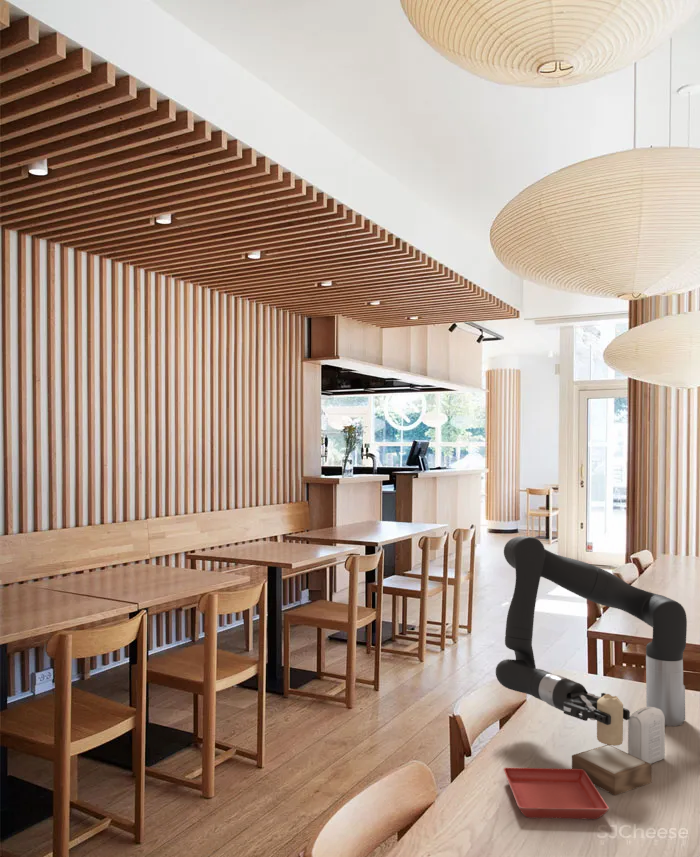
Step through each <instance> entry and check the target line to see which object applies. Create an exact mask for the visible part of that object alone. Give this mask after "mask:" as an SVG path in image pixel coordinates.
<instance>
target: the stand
mask: <svg viewBox="0 0 700 857" xmlns="http://www.w3.org/2000/svg"><path fill="white" fill-rule="evenodd" d="M652 767H653V763H651V764H650V763H648V762H645V761H643V760H641V759H639V758H637V757H635V756H632V755H630V754H628V753H627V752H625V751H623V750H621V749H619V748H617V747H615V746H613V745H607V744H604V745H601V746H598V747H595V748H593V749H588V750H585V751H582V752H579V753H578V752H577V753H575V754H572V755H571V769H583V770H584V771H585V772H586V773H587V775H588V776H589V778H590V779H591V781H592V782H593V784H594V786H595V787H598V788H599V789H601V790H603V791H605V792H606V793H609V794H611V795H613V796H618V795H620V794H623V793H627V792H629V791H631V790H634V789H637V788H641V787H643V786H646V785H649V784H651V783H653V779H652V778H653V771H652V770H653V769H652Z"/></svg>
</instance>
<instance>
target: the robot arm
mask: <svg viewBox="0 0 700 857" xmlns="http://www.w3.org/2000/svg"><path fill="white" fill-rule="evenodd" d="M503 547H504V548H503V556H504V559H505V561H506V562H507V564H508V565H509V566H510V567H512V568H514V569H515V582H514V583H515V585H514V590H513V594H512V599H511V601H510V604H509V608H508V610H507V611H508V612H507V617H506V621H505V622H506V624H505V634H504V635H505V637H504V645H505V647H506V648H507V649H508V650H511V651H513V652H514V654H515V655H514V656H515V659H509V658H508V659H507V658H506V659H503V660H501V661H500V662H498V664H497V665H496V667H495V677H496V680H497V681H498V682H499V683H500V685H501V686H502V687H504V688H507V689H508V690H511V691H515V692H518V693H522V694H526V695H529V696H531V697H534V698H536V699H537V700H540V701H542V702H543V703H546V704H547V705H549V706H551V707H553V708H555V709H557V710H560V711H561V712H563V714H564V715H567V716H570V717H572V718H575V719H579V720H582V721H584V722H586V721H588V719H589V720H591V721H596V722H597V721H599V722H601V723H604V724H606V725H610V724H611V716H610V715H609V714H607V713H605V712H602V711H600V710H598V709H597V701H598V699H600V698H601V697H603V696H604V695H605V694H606V692H602V693H600V694H601V696H598V695H596V694H593V693H589V692H588V691H587V689H586V687H585V686H584V685H583V684H582V683H579V682H577V681H575V680H571V679H570V678H567V677H564V676H561V675H559V674H554V673H551V672H549V671H548V670H547V671H546V670H544V669H541V668H536V667H537V666H536V662H535V661H536V660H535V656H534V649H533V645H532V644H533V634H534V632H533V631H534V620H535V610H536V605H537V604H536V602H537V596H538V593H539V592H538V590H539V585H540V582H541V578H544V579H547V580H549V581H550V582H553V583H554V584H555V585H557V586H560V587H561V588H563V589H565V590H567V591H568V592H571V593H572V594H575V595H577V596H579V597H581V598H582V599H583V598H584V599H586V600H588V601H590V602H593V603H595V604H598V605H601V606H605V607H608V608H612V609H613V608H614V609H617V610H620V611H623V612H625V613H628V614H629V615H631V616H634V618H637V619H638V620H640V621H642V622H643V623H645V624H647V625H648V626H650V627H651V628H652V639H651V640H652V641H650V642H648V643H647V644H646V645H645V669H646V670H645V672H646V673H645V675H646V678H645V679H646V681H645V682H646V684H645V685H646V688H645V692H646V698H645V700H646V704H645V705H646V706H645V707H655V708H658V709H660V710H661V711H662V712H663V714H664V717H665V727H667V726H668V727H675V726H677V727H678V726H680V725H683V724H684V721H686V685H684V658H683V657H684V651H685V650H686V646H687V631H688V630H687V628H688V625H687V624H688V620H687V613H686V610H685V608H684V607H683V605H682V604H681V603H680V602H678V601H676V600H674V599H671V598H669V597H667V596H666V595H665V596H664V595H662V594H658V593H654V592H652V591H648V590H644V589H640V588H638V587H636V586H633V585H631V584H629V583H627V582H626V581H625V580H623V579H622V578H620V577H618V576H616V575H615V574H613V573H611V572H609V571H608V570H605V569H603V568H600V567H598V566H596V565H595V564H594V565H593V564H591V563H587V562H584V561H582V560H579V559H576V558H575V559H574V558H571V557H566V556H563V555H559V554H556V553H554V552H552V551H549V550H548V549H545V546H544V544H543V542H542V541H541V540H539V538H536V537H533V536H528V535H527V536H521V535H520V536H516V537H512V538H511V539H510V540H508V541H507V542H506V543H505V545H504V546H503ZM630 713H631V712H630V710H629V709H627V708H625V707H623V720H625V721H628V720H629V719H630V716H631V714H630Z"/></svg>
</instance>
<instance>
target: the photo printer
mask: <svg viewBox="0 0 700 857" xmlns="http://www.w3.org/2000/svg"><path fill="white" fill-rule="evenodd" d="M627 721H628V722H627V730H628V731H627V732H628V733H627V749H628V750H627V752H628V754H630V755H632V756H635V757H637V758H639V759H641V760H643V761H645V762H648V763H650V764H653V763H656V762H659V761H661V760H663V759H665V756H666V755H665V754H666V752H665V750H666V749H665V748H666V744H665V742H666V741H665V740H666V739H665V738H666V735H665V732H666V731H665V730H666V729H665V727H666V725H665V717H664V714H663V712H662V711H661V710H660V709H658V708H655V707H646V706H645V707H642V708H639V709H638V710H635V711H634V712H633V713H632V714H630V719H629V720H627Z"/></svg>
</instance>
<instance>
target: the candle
mask: <svg viewBox="0 0 700 857" xmlns="http://www.w3.org/2000/svg"><path fill="white" fill-rule="evenodd" d="M600 697H601V696H600ZM623 708H624V703H623V702H622V701H621V700H620V698H619V697H618V696H616V695H612V694H610V693H605V695H604V696H603V697H601V698H600V699H598V701H597V709H598V710H600V711H602V712H605V713H607V714H609V715H610V716H611V724H610V725H606V724H604V723H601V722H599V721H597V720H596V740H597V741H598V742H599V743H601V744H604V745H610V746H613V747H615V746H620V745H623V741H624V740H623V739H624V738H623V737H624V719H623Z"/></svg>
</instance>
